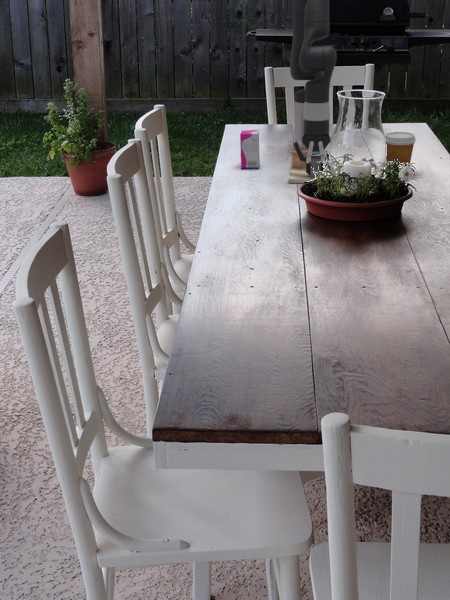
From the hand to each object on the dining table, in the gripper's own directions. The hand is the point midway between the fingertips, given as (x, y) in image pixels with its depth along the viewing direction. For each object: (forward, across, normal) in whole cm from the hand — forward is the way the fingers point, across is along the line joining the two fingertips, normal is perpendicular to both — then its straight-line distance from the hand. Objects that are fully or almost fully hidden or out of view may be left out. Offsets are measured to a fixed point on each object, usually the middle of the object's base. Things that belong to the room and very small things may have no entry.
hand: (315, 174), depth 239 cm
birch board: (+2, +3, -9) cm, 10 cm away
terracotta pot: (+1, +5, -12) cm, 13 cm away
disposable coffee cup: (+2, -25, -8) cm, 26 cm away
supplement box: (+2, +21, -16) cm, 26 cm away
